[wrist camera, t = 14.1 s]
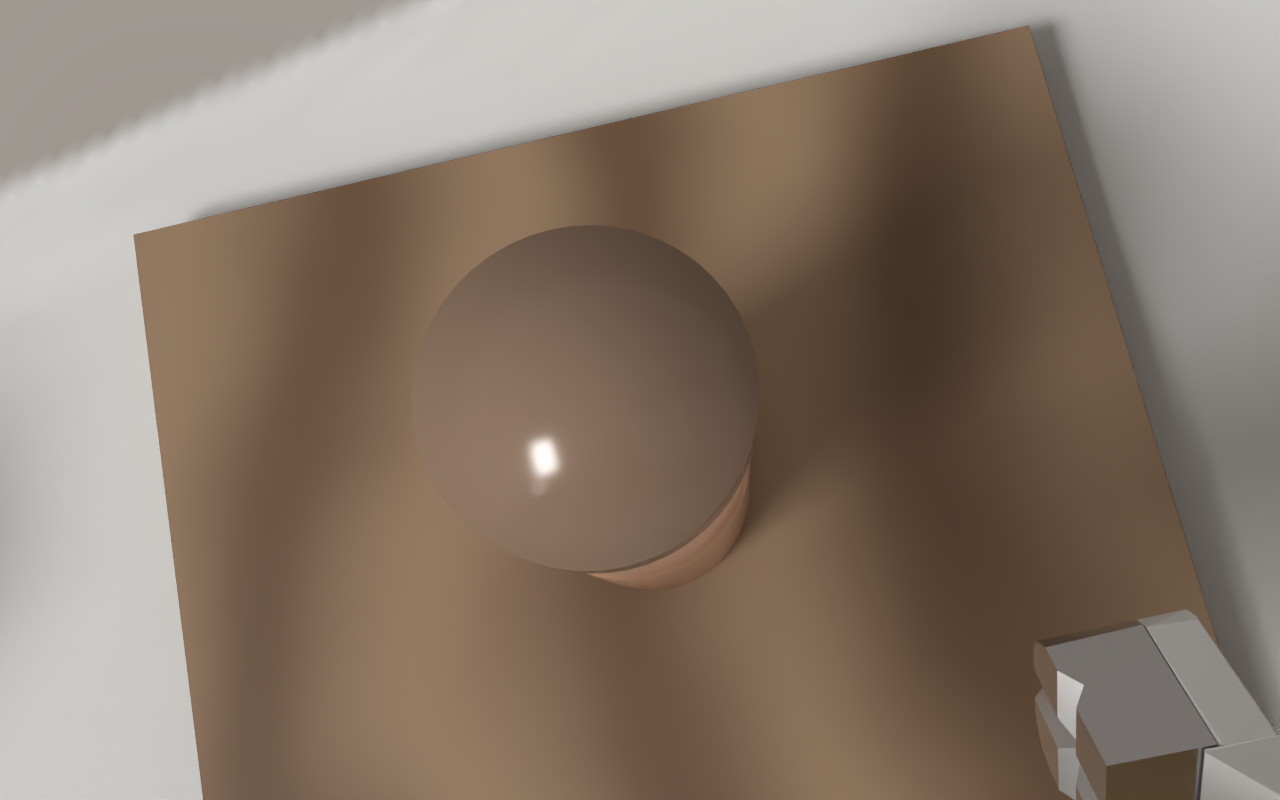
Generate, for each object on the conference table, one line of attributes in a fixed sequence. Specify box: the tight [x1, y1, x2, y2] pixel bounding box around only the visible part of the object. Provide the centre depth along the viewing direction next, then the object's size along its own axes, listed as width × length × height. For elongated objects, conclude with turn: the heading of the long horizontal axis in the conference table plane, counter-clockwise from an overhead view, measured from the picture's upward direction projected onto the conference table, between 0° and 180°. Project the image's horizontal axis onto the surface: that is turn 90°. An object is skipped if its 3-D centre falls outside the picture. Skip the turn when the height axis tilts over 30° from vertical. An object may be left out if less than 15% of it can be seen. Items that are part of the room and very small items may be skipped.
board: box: [134, 26, 1219, 800], centre depth 24 cm, size 20×16×1 cm
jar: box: [411, 225, 759, 591], centre depth 19 cm, size 4×4×10 cm
